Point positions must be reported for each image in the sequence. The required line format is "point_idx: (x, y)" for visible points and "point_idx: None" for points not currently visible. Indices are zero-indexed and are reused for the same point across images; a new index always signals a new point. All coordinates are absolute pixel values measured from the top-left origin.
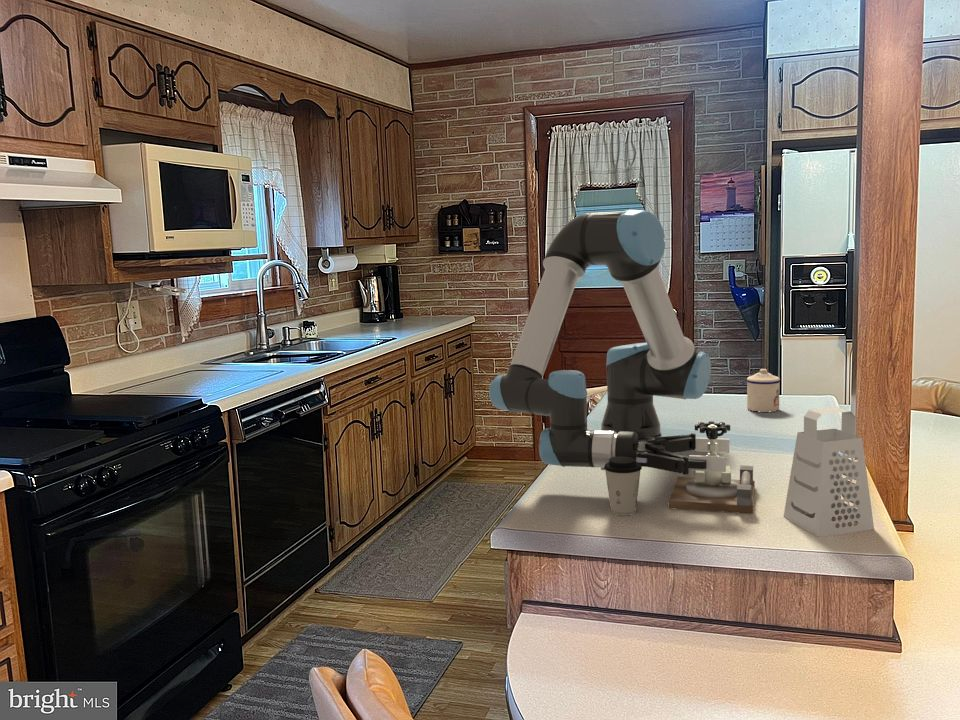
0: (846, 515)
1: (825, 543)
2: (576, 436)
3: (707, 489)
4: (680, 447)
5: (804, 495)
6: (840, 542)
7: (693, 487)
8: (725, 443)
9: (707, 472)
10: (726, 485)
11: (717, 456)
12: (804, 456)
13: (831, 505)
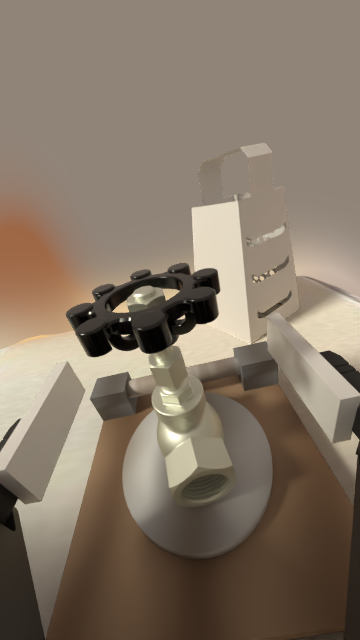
0: None
1: (317, 300)
2: None
3: (238, 453)
4: (21, 587)
5: (274, 284)
6: (302, 296)
7: (239, 505)
8: (68, 378)
9: (217, 428)
10: None
11: (279, 327)
12: (261, 232)
13: None
